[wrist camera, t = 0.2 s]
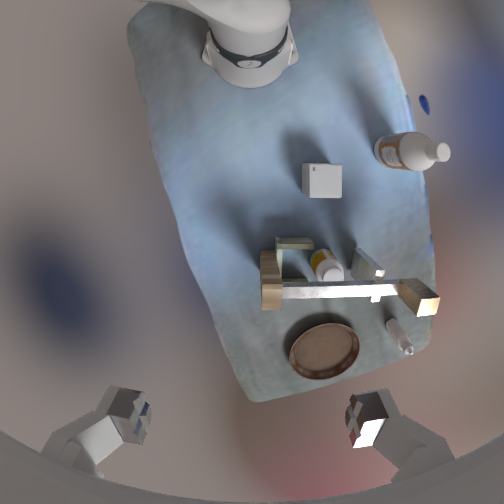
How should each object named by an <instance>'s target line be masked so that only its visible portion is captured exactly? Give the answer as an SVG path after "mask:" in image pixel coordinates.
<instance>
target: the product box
mask: <svg viewBox="0 0 504 504" xmlns="http://www.w3.org/2000/svg"><path fill="white" fill-rule="evenodd" d="M302 193H303V194H305V195H307V196H308V197H310V198H342V164H329V163H302Z"/></svg>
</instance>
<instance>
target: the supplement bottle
mask: <svg viewBox="0 0 504 504" xmlns="http://www.w3.org/2000/svg"><path fill="white" fill-rule="evenodd" d="M310 266H311V268H312V270H313V272H314V274H315V276H316V278H317V279H318V281H343V280H344V274H343V267H342V265H341V263H340V262H339V261H338V259H337V258H336V257H335V256H334V255H333V253H332V252H331V251H329V250H327V249H319V250H317V251H315V252H314V253H313V254H312V256H311V258H310Z"/></svg>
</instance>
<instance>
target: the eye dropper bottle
mask: <svg viewBox="0 0 504 504" xmlns="http://www.w3.org/2000/svg"><path fill="white" fill-rule="evenodd" d="M386 329H387V332H388V333H389V335H390V336H391V337H392V339H393V340H394V342H395V343H396V345H397V346H398V348H399V349H400V350H402V351H404V353H405V354H410V355H412V354H413V352H412V351H413V346H412V344H411V343H410V338H409V336H408V335H407V334H406V332H405V331H404V330H403V328H402V327H401V326H400V325H399V323H398V322H397V321H396V320H395V319H394V318H391V319H390V320H388V321H387V322H386Z"/></svg>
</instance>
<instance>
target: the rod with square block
mask: <svg viewBox="0 0 504 504" xmlns="http://www.w3.org/2000/svg"><path fill="white" fill-rule="evenodd" d="M384 272H385V270H384V269H383V268H382V267H381V266H379V265H378V264H377V263H376V262H375V261H374V260H373V259H372V258H371V257H370V256H368V255H367V254H366V253H365V252H364V251H363V250H362V249H361V248H354V250H353V259H352V267H351V276H352V278H353V279H354V280H355V281H319V282H282V284H283V285H282V299H283V298H331V297H358V296H367V297H368V298H369V300H370V301H371V302H379V299H380V295H396V294H397V295H398V296H399V297H400V298H401V300H402V301H403V302H404V303H405V304H406V305H407V306H408V307H409V308H410V309H411V310H412V311H413V312H414V314H415V315H416V316H424V315H432V314H436V311H437V307H438V304H439V301H440V297H439V296H438V295H437V294H436V293H434V292H433V291H432V290H431V289H430V288H429V287H427V286H426V285H425V284H424V283H423V282H421V281H420V280H419V279H418V278H411V279H393V280H383V278H384Z"/></svg>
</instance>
